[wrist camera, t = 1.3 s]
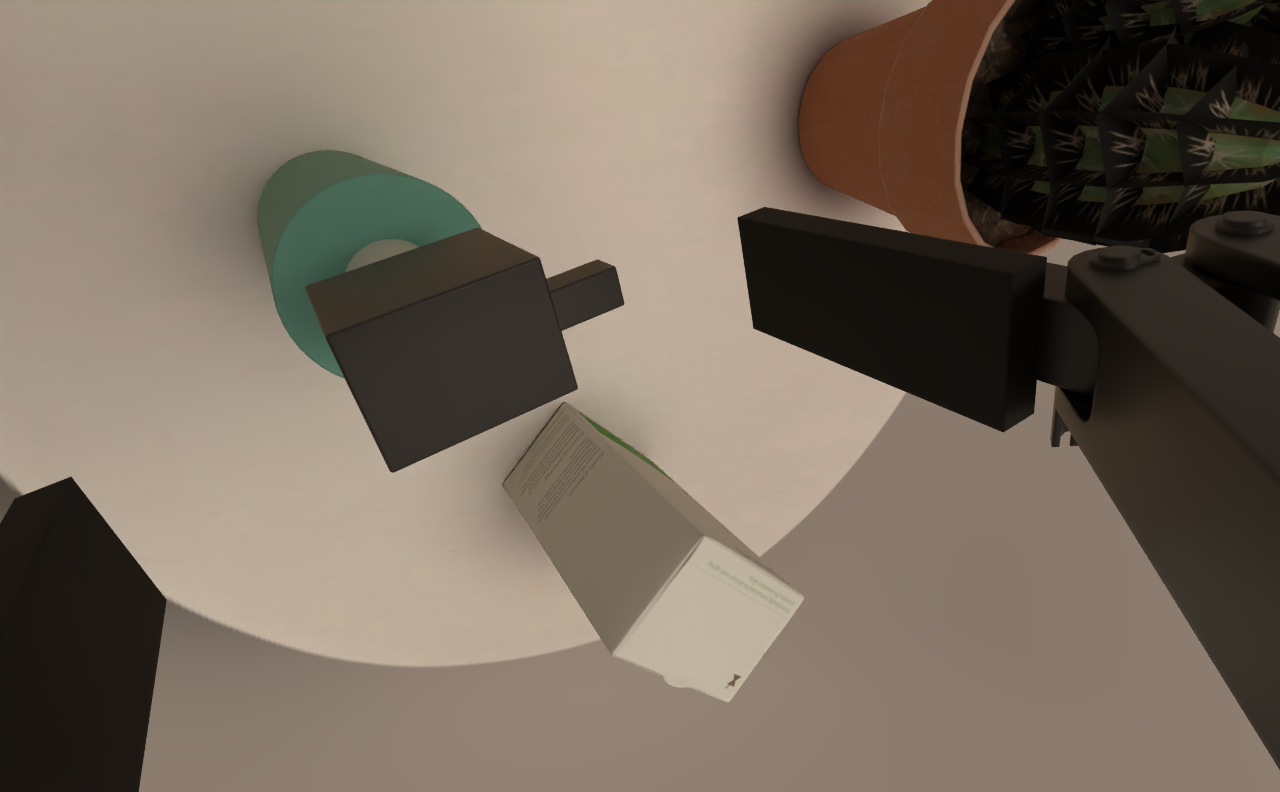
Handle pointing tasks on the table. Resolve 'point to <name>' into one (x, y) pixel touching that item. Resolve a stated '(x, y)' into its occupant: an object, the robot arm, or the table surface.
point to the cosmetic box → (648, 559)
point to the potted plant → (1054, 119)
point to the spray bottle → (418, 302)
